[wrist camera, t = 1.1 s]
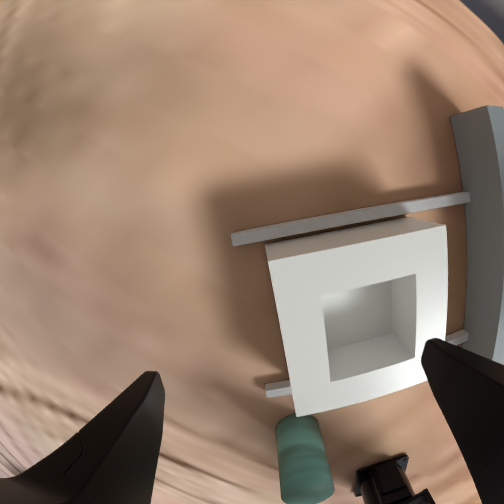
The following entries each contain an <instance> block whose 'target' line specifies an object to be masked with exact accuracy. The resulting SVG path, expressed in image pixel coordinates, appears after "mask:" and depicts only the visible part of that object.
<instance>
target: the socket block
mask: <svg viewBox="0 0 504 504" xmlns="http://www.w3.org/2000/svg"><path fill="white" fill-rule="evenodd" d="M265 249H266V255H267V260H268V265H269V270H270V275H271V281H272V286H273V291H274V296H275V302H276V307H277V312H278V318H279V323H280V329H281V334H282V339H283V345H284V350H285V356H286V361H287V367H288V372H289V378H290V384H291V389H292V395H293V400H294V406H295V412H296V417H300V416H305V415H310V414H315V413H320V412H324V411H328V410H333V409H337V408H341V407H345V406H349V405H353V404H356V403H360V402H363V401H367V400H370V399H374V398H377V397H380V396H384V395H387V394H390V393H393V392H396V391H399V390H402V389H405V388H408V387H410V386H413V385H416V384H419V383H421V382H424V381H427V377H426V375H425V372H424V370H423V367H422V365H421V356H422V353H423V349H424V346H425V342H426V341H427V340H428V339H432V338H439V339H441V340H444V341H445V334H446V320H447V300H448V253H447V233H446V225H444V224H439V223H435V222H431V221H426V220H421V219H417V218H412V217H405V218H400V219H395V220H389V221H384V222H379V223H374V224H368V225H363V226H358V227H353V228H347V229H342V230H337V231H332V232H326V233H321V234H316V235H311V236H306V237H300V238H295V239H290V240H285V241H280V242H275V243H269V244H265Z"/></svg>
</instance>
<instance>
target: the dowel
mask: <svg viewBox="0 0 504 504" xmlns="http://www.w3.org/2000/svg"><path fill="white" fill-rule="evenodd" d="M276 440H277V452H278V465H279V477H280V490H281V499H282V501H283V502H285V503H286V504H316V503H319V502H322V501H324V500H326V499H327V498H329V497H330V496H331V495H332V494H333V492H334V484H333V480H332V476H331V472H330V468H329V464H328V460H327V456H326V452H325V448H324V444H323V440H322V436H321V432H320V428H319V424H318V421H317V419H316V418H315V417H313V416H311V415H305V416H300V417H296V414H292V415H289V416H287V417H285V418H283V419H282V420H281V421H280V422H279V423H278V424H277V426H276Z"/></svg>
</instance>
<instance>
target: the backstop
mask: <svg viewBox="0 0 504 504" xmlns="http://www.w3.org/2000/svg"><path fill="white" fill-rule="evenodd" d="M450 120H451V124H452V129H453V133H454V138H455V143H456V149H457V154H458V160H459V166H460V173H461V180H462V188H463V192H457V193H451V194H444V195H438V196H432V197H426V198H419V199H413V200H407V201H401V202H395V203H389V204H383V205H378V206H372V207H366V208H360V209H355V210H349V211H343V212H338V213H332V214H327V215H321V216H316V217H310V218H305V219H300V220H294V221H289V222H284V223H279V224H273V225H268V226H263V227H258V228H253V229H248V230H243V231H238V232H233V233H231V240H232V244H233V247H234V246H239V245H244V244H249V243H254V242H259V241H265V240H270V239H275V238H280V237H285V236H290V235H296V234H301V233H306V232H311V231H317V230H322V229H327V228H332V227H338V226H343V225H348V224H354V223H359V222H364V221H370V220H375V219H380V218H386V217H391V216H397V215H402V214H407V213H413V212H418V211H424V210H429V209H435V208H440V207H446V206H452V205H457V204H463V203H464V207H465V219H466V237H467V290H466V308H465V320H464V329H462V330H459V331H457V332H454V333H452V334H449V335H447V336H445V341H446V342H449V343H451V344H454V345H459V344H461V343H462V347H461V348H463V349H466V350H468V351H471V352H473V353H476V354H478V355H481V356H483V357H485V358H488V359H490V360H493V361H495V362H498V363H500V364H503V365H504V109H503V107H498V106H488V105H486V106H483V107H480V108H476V109H473V110H469V111H466V112H463V113H460V114H456V115H453V116H450ZM265 391H266V395H267V398H272V397H278V396H284V395H289V394H292V389H291V384H290V380H285V381H279V382H273V383H267V384H265Z"/></svg>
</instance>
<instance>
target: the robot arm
mask: <svg viewBox="0 0 504 504" xmlns="http://www.w3.org/2000/svg"><path fill="white" fill-rule="evenodd" d="M421 365H422V367H423V370H424V372H425V375H426V377H427V380H428V382H429V385H430V387H431V390H432V392H433V395H434V397H435V399H436V401H437V403H438V405H439V407H440V409H441V411H442V413H443V415H444V417H445V419H446V421H447V423H448V425H449V427H450V429H451V431H452V433H453V435H454V438H455V440H456V442H457V444H458V446H459V448H460V451H461V453H462V455H463V457H464V460H465V462H466V464H467V467H468V469H469V471H470V474H471V476H472V478H473V481H474V483H475V486H476V489H477V491H478V494H479V496H480V499H481V502H482V504H504V365H503V364H500V363H498V362H495V361H493V360H490V359H488V358H485V357H483V356H481V355H478V354H476V353H473V352H471V351H468V350H466V349H463V348H461V347H459V346H456V345H454V344H451V343H449V342H446V341H444V340H441V339H439V338H432V339H428V340H427V341H426V342H425V346H424V349H423V353H422V356H421ZM164 404H165V390H164V387H163V384H162V380H161V377H160V374H159V373H158V372H157V371H146V372H144V373H143V374H142V375H141V376H140V377H139V378H138V379H136V380H135V381H134V382H133V383H132V384H131V385H130V386H129V387H128V388H126V389H125V390H124V391H123V392H122V393H121V394H120V395H119V396H118V397H116V398H115V399H114V400H113V401H112V402H111V403H110V404H109V405H107V406H106V407H105V408H104V409H103V410H102V411H101V412H100V413H98V414H97V415H96V416H95V417H94V418H93V419H92V420H91V421H89V422H88V423H87V424H86V425H85V426H84V427H83V428H82V429H80V430H79V433H78V432H77V433H76V434H75V435H73V436H72V437H71V438H70V439H69V440H68V441H66V442H65V443H64V444H63V445H62V446H60V447H59V448H58V449H56V450H55V451H54V452H52V453H51V454H49V455H48V456H47V457H45V458H44V459H42V460H41V461H39V462H38V463H36V464H35V465H33V466H32V467H30V468H29V469H27V470H26V471H24V472H23V473H21V474H19V475H17V476H14V477H10V478H0V504H151V497H152V491H153V485H154V479H155V473H156V468H157V462H158V456H159V451H160V446H161V440H162V432H163V418H164ZM408 459H409V457H408V455H403V456H400V457H398V458H395V459H392V460H389V461H386V462H383V463H380V464H377V465H374V466H370V467H367V468H364V469H360V470H358V471H357V472H356V481H355V496H356V497H358V496H362V497H363V500H364V503H365V504H435V502H434V500H433V498H432V496H431V495H430V493H429V491H428V489H427V488H426V489H424V490H423V491H422V492H420V493H418V494H416V495H415V493H414V491H413V489H412V487H411V485H410V482H409V480H408V478H407V476H406V474H405V471H406V467H407V463H408Z"/></svg>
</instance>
